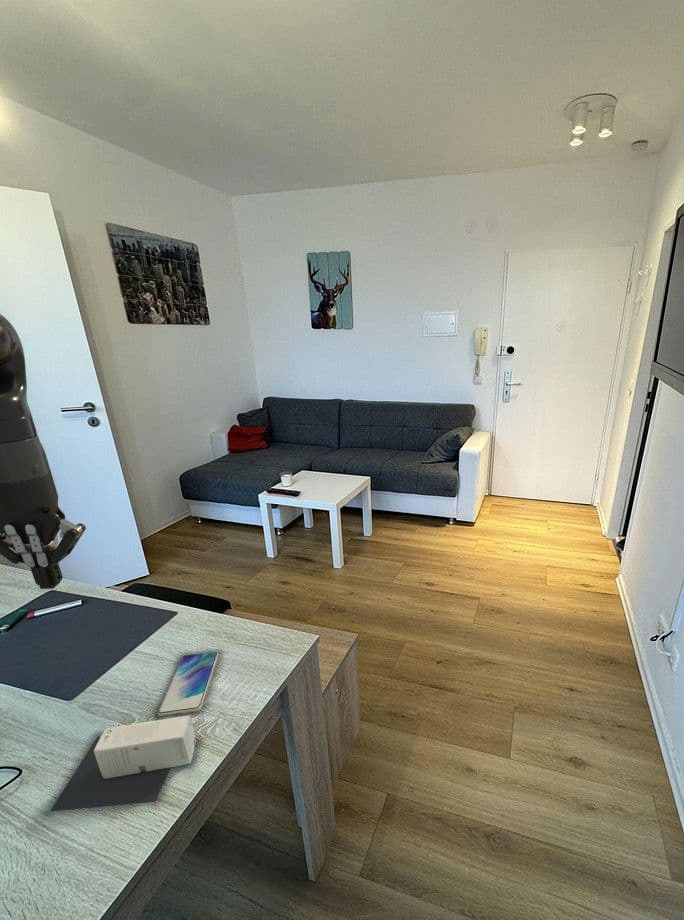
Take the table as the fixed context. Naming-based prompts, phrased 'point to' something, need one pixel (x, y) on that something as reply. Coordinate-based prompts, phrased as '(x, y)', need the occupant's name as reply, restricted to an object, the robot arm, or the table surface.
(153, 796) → the mat
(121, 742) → the cosmetic box
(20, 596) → the table surface
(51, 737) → the table surface
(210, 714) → the table surface
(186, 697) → the smartphone
